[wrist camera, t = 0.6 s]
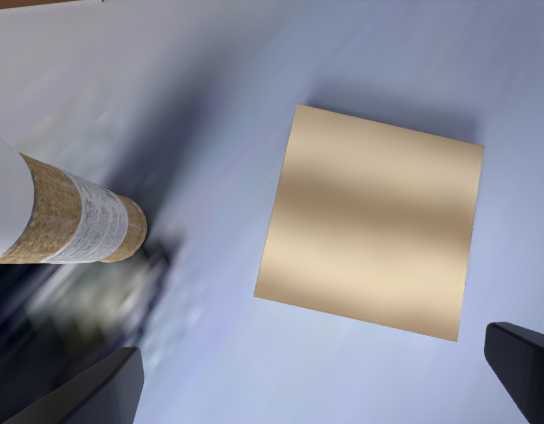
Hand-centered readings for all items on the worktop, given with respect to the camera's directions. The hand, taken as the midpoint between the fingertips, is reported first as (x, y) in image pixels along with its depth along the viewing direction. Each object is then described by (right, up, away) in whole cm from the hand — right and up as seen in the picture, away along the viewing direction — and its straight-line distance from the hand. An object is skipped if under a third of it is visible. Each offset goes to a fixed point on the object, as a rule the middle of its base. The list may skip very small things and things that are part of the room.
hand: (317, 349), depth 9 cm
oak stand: (+5, +3, +14) cm, 15 cm away
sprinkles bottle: (-12, +2, +14) cm, 18 cm away
